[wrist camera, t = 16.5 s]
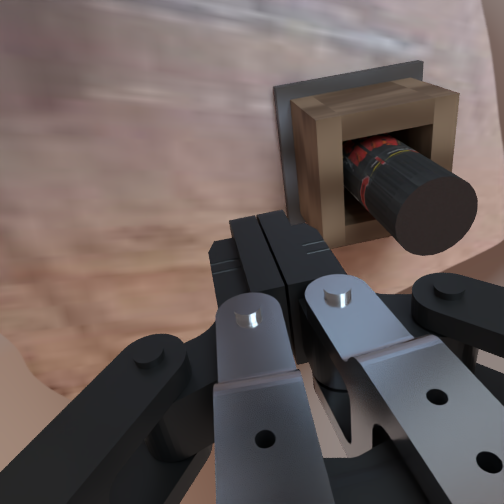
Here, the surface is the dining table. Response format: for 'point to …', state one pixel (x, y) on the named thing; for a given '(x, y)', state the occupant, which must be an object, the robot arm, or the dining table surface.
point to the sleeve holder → (351, 127)
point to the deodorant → (408, 193)
